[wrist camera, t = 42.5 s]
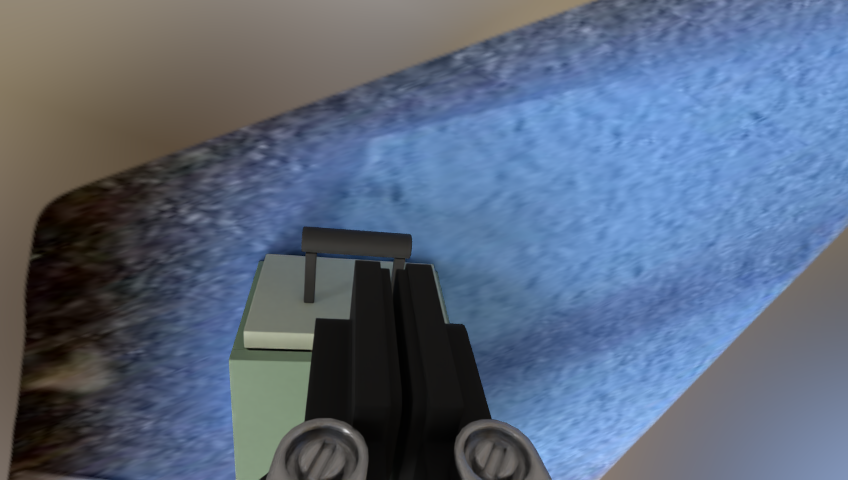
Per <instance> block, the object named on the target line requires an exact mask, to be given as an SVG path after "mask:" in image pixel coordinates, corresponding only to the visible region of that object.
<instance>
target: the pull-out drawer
mask: <svg viewBox="0 0 848 480" xmlns="http://www.w3.org/2000/svg"><path fill="white" fill-rule="evenodd" d="M301 248H302V252H306V254H305V256H294V255H278V254H266V256H265V260H264V263H263V266H262V270H261V273H260V277H259V280H258V284H257V287H256V290H255V294H254V297H253V301H252V304H251V307H250V311H249V314H248V318H247V321H246V325H245V328H244V331H243V332H244V347H245V348H262V351H294V352H311V350H312V347H313V338H314V329H315V320H316V318H328V319H349V318H350V308H351V297H352V287H353V276H354V266H355V260H358V259H342V258H326V257H317V253H329V254H344V255H360V256H375V257H391V258H394V261H393V262H389V261H380V264H381V268H389V269H390V278H391V288H392V293H393V286H394V279H395V273H396V270H397V269H405V265H406V263H405V258H406V259H409V258H410V256H411V251H412V236H411V235H410V234H401V233H387V232H373V231H360V230H346V229H332V228H319V227H303V232H302V246H301ZM365 261H373V260H365ZM412 264H421V263H412ZM428 265H431V266H432V269H433V274H434V278H435V282H436V287H437V291H438V295H439V299H440V304H441V308H442V312H443V317H444V321H445V323H447V319H446V315H445V311H444V307H443V303H442V298H441V294H440V290H439V286H438V282H437V277H436V273H435V269H434V265H433V264H428Z"/></svg>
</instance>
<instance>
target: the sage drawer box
mask: <svg viewBox="0 0 848 480" xmlns="http://www.w3.org/2000/svg"><path fill="white" fill-rule="evenodd" d="M263 263H264V261H259V263H258V267H257V270H256V273H255V277H254V280H253V283H252V287H251V290H250V293H249V296H248V300H247V303H246V306H245V309H244V313H243V316H242V319H241V322H240V326H239V329H238V332H237V335H236V339H235V342H234V345H233V348H232V351H231V355H230V358H229V370H230V387H231V403H232V420H233V436H234V453H235V470H236V480H259V479H260V478H262V477H263V476H264V475H266V474H267V473H268V472H269V469H270V466H271V463H272V460H273V457H274V454H275V451H276V449H277V447H278V445H279V443H280V441H281V439H282V438H283V437H284V436H285V435H286V434H287V433H288V432H289V431H290V430H291V429H292V428H294V427H295V426H297V425H299V424H301V423H303V422H304V420H305V411H306V402H307V393H308V383H309V374H310V365H311V356H312V352H294V351H262V348H245V347H244V332H243V331H244V328H245V325H246V321H247V318H248V314H249V311H250V307H251V304H252V301H253V297H254V294H255V290H256V287H257V284H258V280H259V277H260V273H261V270H262V266H263ZM435 273H436V277H437V282H438V286H439V290H440V294H441V298H442V303H443V307H444V311H445V315H446V319H447V324H450V323H449V319H448V315H447V310H446V306H445V302H444V298H443V294H442V290H441V286H440V282H439V277H438V273H437V271H435Z"/></svg>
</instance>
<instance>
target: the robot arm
mask: <svg viewBox="0 0 848 480" xmlns="http://www.w3.org/2000/svg"><path fill="white" fill-rule="evenodd" d="M259 480H552V479H551V477H550V475H549V473H548V471H547V469H546V468H545V466H544V464H543V462H542V460H541V458H540V456H539V454H538V452H537V450H536V448H535V447H534V445H533V444H532V443H531V441H530V440H529V438H528V437H527V436H525V435H524V434H523V433H522V432H521V431H520V430H519V429H517V428H515V427H513V426H511V425H509V424H508V423H505V422H501V421H498V420H492V419H491V415H490V412H489V408H488V404H487V401H486V397H485V394H484V390H483V387H482V383H481V380H480V376H479V373H478V369H477V366H476V362H475V359H474V355H473V352H472V348H471V344H470V341H469V337H468V334H467V331H466V328H465V326H464V325H463V324H447V323H445V321H444V317H443V312H442V308H441V304H440V299H439V295H438V291H437V287H436V282H435V278H434V274H433V269H432V266H431V265H428V264H412V263H406V265H405V269H397V270H396V273H395V279H394V286H393V293H392V288H391V278H390V269H389V268H381V264H380V261H365V260H355V266H354V276H353V287H352V297H351V308H350V318H349V319H328V318H316V320H315V329H314V338H313V347H312V356H311V365H310V374H309V383H308V393H307V402H306V411H305V420H304V422H303V423H301V424H299V425H297V426H295V427H294V428H292V429H291V430H290V431H289V432H288V433H287V434H286V435H285V436H284V437H283V438H282V439H281V441H280V443H279V445H278V447H277V449H276V451H275V454H274V457H273V460H272V463H271V466H270V469H269V472H268V473H267V474H266V475H264V476H263V477H262V478H260V479H259Z"/></svg>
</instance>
